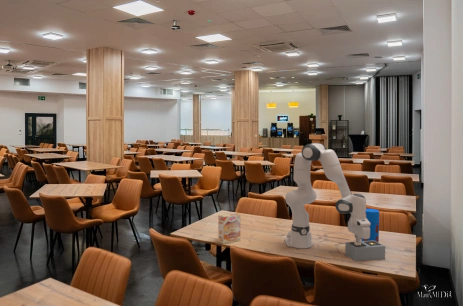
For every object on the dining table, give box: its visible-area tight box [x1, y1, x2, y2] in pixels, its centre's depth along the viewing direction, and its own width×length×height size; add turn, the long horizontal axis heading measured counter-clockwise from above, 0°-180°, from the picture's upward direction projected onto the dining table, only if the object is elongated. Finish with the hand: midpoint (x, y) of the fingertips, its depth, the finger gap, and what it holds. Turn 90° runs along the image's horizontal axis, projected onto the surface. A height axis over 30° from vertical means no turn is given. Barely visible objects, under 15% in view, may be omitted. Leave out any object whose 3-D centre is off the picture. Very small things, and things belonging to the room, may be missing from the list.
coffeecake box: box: [217, 212, 242, 245], centre depth 263 cm, size 15×7×20 cm, turn 126°
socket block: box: [344, 240, 386, 262], centre depth 232 cm, size 20×12×8 cm, turn 101°
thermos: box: [361, 208, 380, 243], centre depth 250 cm, size 11×11×25 cm
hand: (358, 242), depth 230 cm, fingers closed, pressing on nylon peg
